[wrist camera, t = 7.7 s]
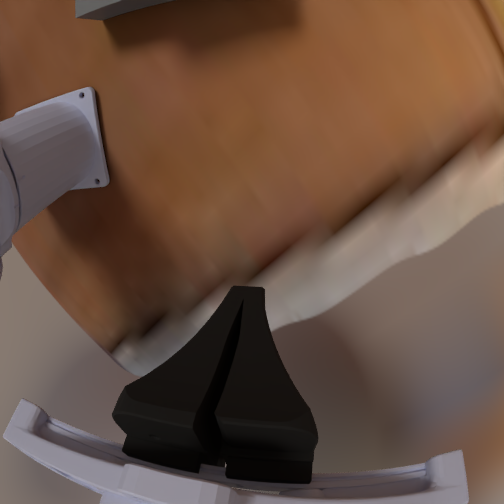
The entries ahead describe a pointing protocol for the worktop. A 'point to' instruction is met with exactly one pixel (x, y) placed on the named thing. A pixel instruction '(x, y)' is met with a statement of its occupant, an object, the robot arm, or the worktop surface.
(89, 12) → the switch box
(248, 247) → the worktop surface
